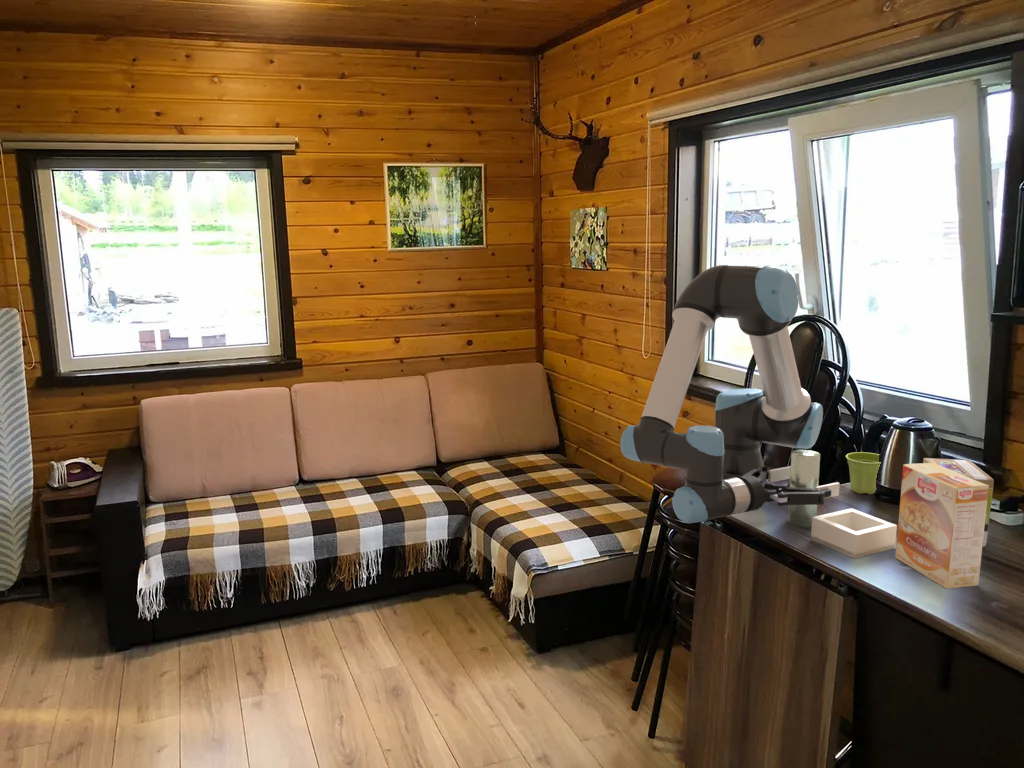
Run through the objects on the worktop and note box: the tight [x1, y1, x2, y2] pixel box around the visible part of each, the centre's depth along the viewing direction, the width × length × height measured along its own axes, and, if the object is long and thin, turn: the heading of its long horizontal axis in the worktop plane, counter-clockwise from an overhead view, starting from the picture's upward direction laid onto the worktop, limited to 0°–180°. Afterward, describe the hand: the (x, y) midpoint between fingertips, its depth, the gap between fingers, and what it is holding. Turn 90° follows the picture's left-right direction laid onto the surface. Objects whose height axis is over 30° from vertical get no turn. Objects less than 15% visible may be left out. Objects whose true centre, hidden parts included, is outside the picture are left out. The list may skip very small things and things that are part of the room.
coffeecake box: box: [894, 462, 989, 590], centre depth 157 cm, size 15×7×20 cm, turn 11°
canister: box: [787, 449, 821, 528], centre depth 183 cm, size 6×6×16 cm
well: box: [810, 507, 898, 559], centre depth 172 cm, size 12×12×5 cm
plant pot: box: [845, 451, 881, 495], centre depth 205 cm, size 9×9×9 cm
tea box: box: [922, 457, 995, 548], centre depth 176 cm, size 15×10×15 cm, turn 168°
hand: (813, 480), depth 184 cm, fingers open, 13 cm apart
